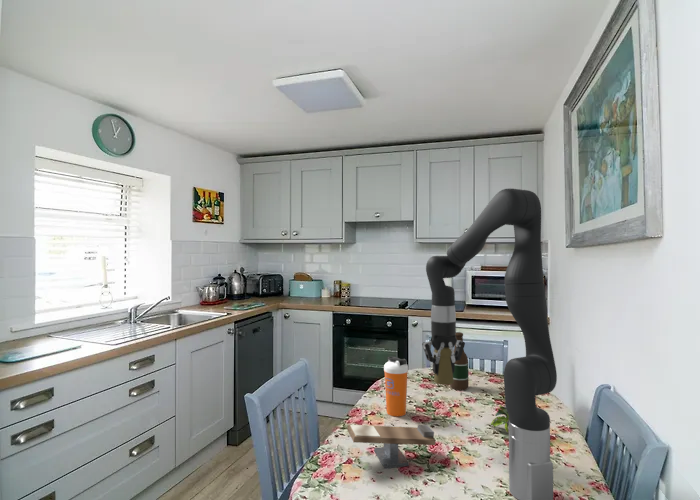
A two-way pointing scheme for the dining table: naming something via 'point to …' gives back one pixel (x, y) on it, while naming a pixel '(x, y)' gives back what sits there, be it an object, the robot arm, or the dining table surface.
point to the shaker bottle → (396, 386)
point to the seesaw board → (392, 434)
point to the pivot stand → (391, 456)
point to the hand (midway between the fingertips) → (443, 374)
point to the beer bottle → (460, 369)
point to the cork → (444, 368)
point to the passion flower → (501, 418)
